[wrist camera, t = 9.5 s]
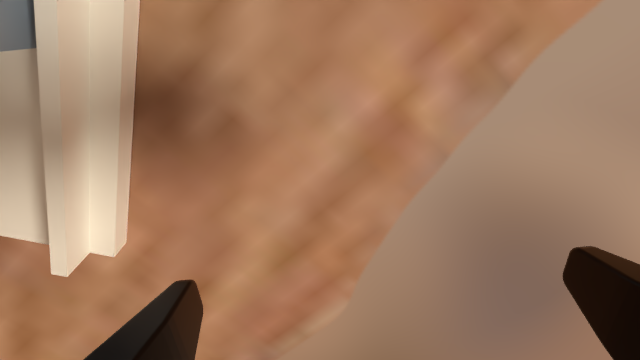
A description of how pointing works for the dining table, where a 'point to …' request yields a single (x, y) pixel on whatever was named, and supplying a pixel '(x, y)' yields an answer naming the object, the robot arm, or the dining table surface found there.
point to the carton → (17, 25)
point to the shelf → (70, 130)
